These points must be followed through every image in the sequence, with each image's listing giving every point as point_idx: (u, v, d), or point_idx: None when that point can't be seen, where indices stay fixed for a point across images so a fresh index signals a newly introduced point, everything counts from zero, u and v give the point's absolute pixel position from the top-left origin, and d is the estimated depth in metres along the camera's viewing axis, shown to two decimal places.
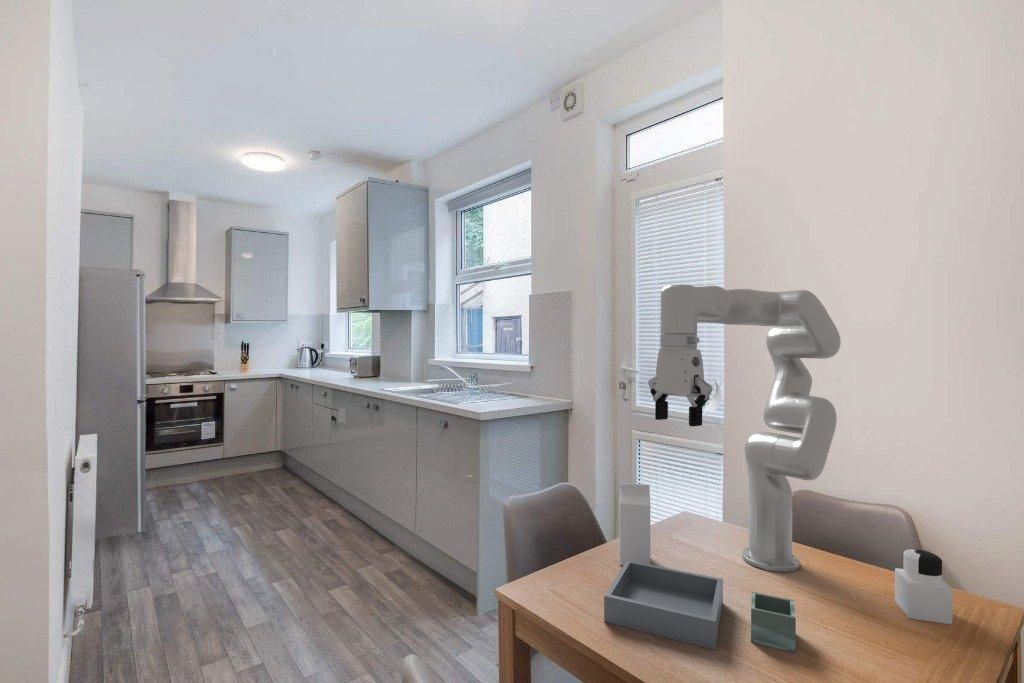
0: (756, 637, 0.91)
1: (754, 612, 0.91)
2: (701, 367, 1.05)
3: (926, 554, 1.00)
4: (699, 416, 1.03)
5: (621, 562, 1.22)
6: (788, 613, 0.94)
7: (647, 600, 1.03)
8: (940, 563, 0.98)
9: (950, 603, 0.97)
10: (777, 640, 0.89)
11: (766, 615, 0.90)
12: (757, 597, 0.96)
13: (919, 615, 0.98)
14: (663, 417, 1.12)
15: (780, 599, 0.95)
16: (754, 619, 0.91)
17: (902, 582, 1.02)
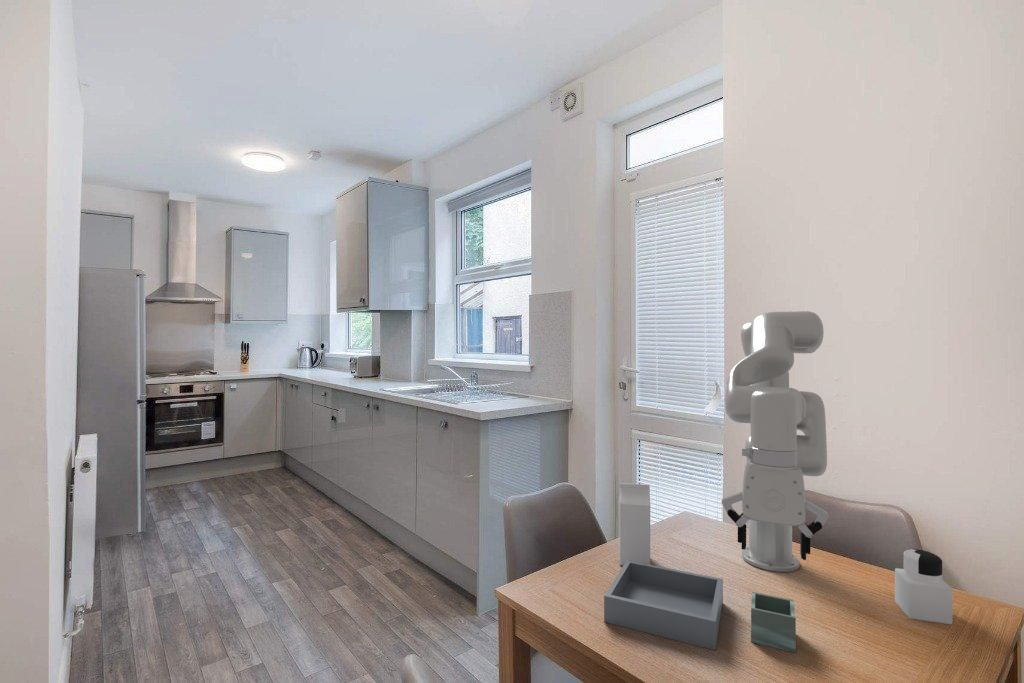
0: (756, 637, 0.91)
1: (754, 612, 0.91)
2: (743, 484, 0.93)
3: (926, 554, 1.00)
4: None
5: (621, 562, 1.22)
6: (788, 613, 0.94)
7: (647, 600, 1.03)
8: (940, 563, 0.98)
9: (950, 603, 0.97)
10: (777, 640, 0.89)
11: (766, 615, 0.90)
12: (757, 597, 0.96)
13: (919, 615, 0.98)
14: None
15: (780, 599, 0.95)
16: (754, 619, 0.91)
17: (902, 582, 1.02)
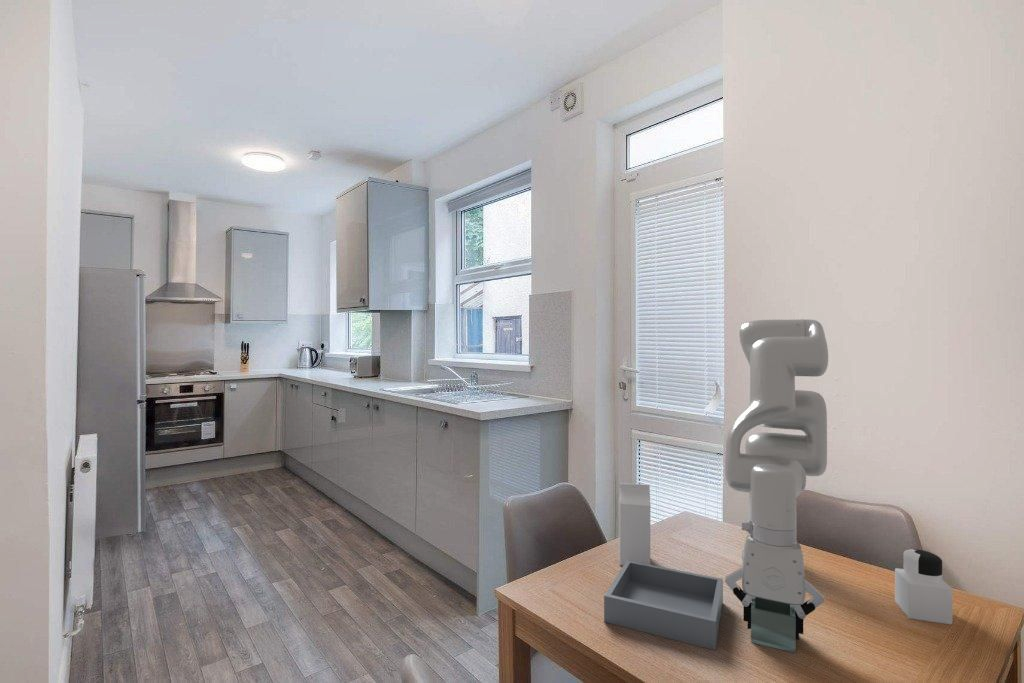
0: (756, 637, 0.91)
1: (754, 612, 0.91)
2: (743, 559, 0.93)
3: (926, 554, 1.00)
4: None
5: (621, 562, 1.22)
6: (788, 613, 0.94)
7: (647, 600, 1.03)
8: (940, 563, 0.98)
9: (950, 603, 0.97)
10: (777, 640, 0.89)
11: (766, 615, 0.90)
12: None
13: (919, 615, 0.98)
14: None
15: None
16: (754, 619, 0.91)
17: (902, 582, 1.02)
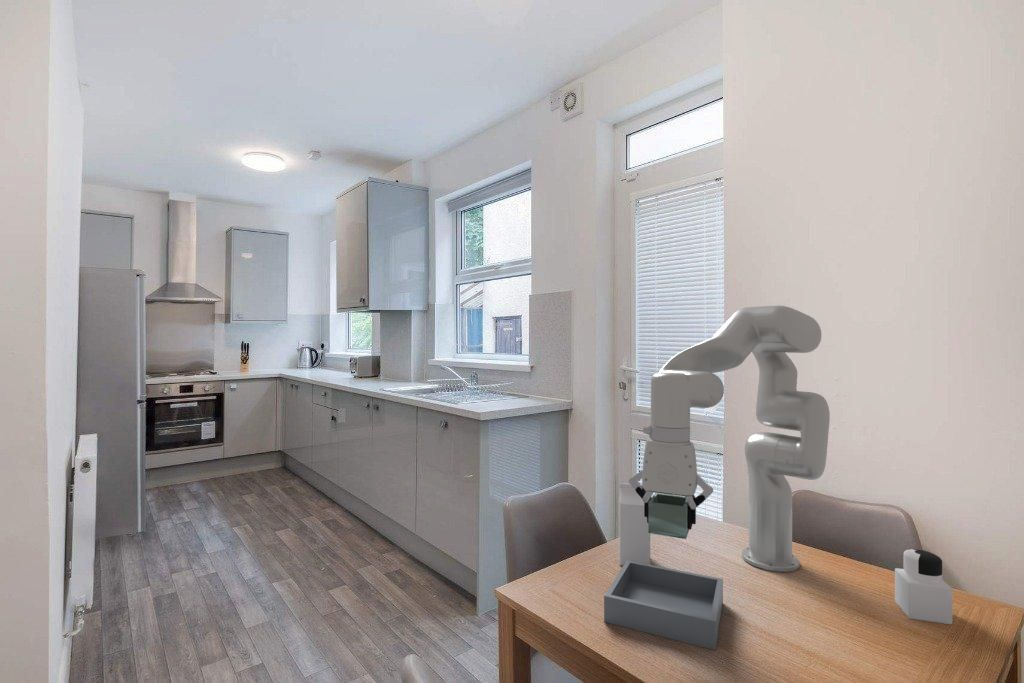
0: (653, 528, 0.99)
1: (651, 505, 0.99)
2: None
3: (926, 554, 1.00)
4: None
5: (621, 562, 1.22)
6: None
7: (647, 600, 1.03)
8: (940, 563, 0.98)
9: (950, 603, 0.97)
10: (670, 529, 0.97)
11: (661, 507, 0.98)
12: (659, 497, 1.04)
13: (919, 615, 0.98)
14: None
15: (678, 497, 1.03)
16: (651, 511, 0.99)
17: (902, 582, 1.02)
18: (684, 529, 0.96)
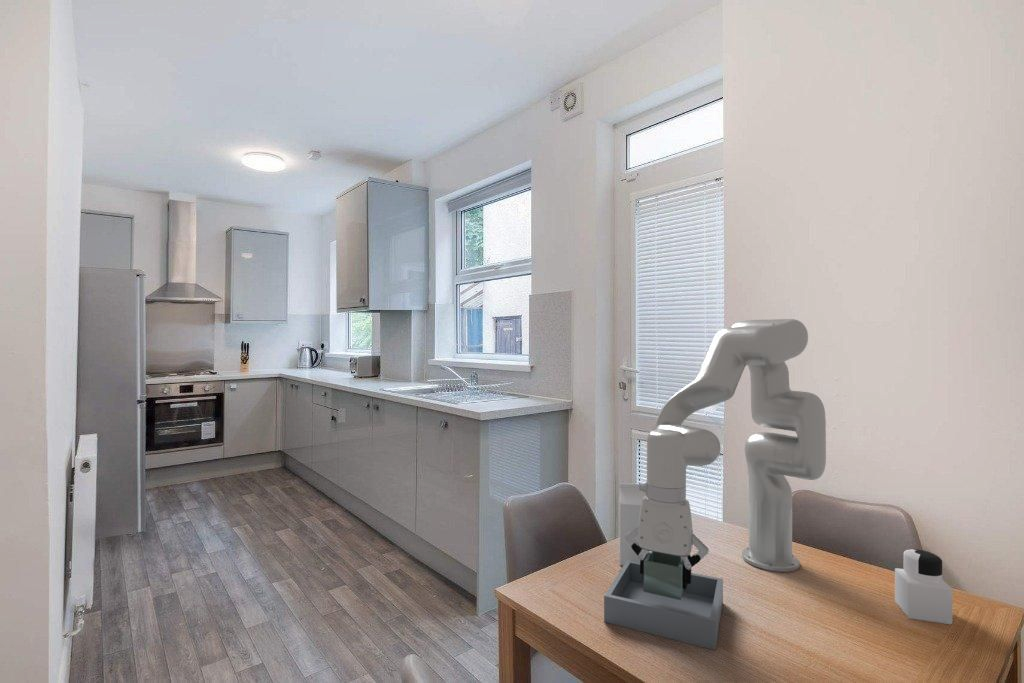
0: (648, 587, 0.99)
1: (646, 564, 0.99)
2: (639, 516, 1.02)
3: (926, 554, 1.00)
4: None
5: (621, 562, 1.22)
6: None
7: (647, 600, 1.03)
8: (940, 563, 0.98)
9: (950, 603, 0.97)
10: (665, 589, 0.97)
11: (656, 566, 0.98)
12: (655, 553, 1.05)
13: (919, 615, 0.98)
14: None
15: None
16: (646, 570, 0.99)
17: (902, 582, 1.02)
18: (679, 590, 0.96)
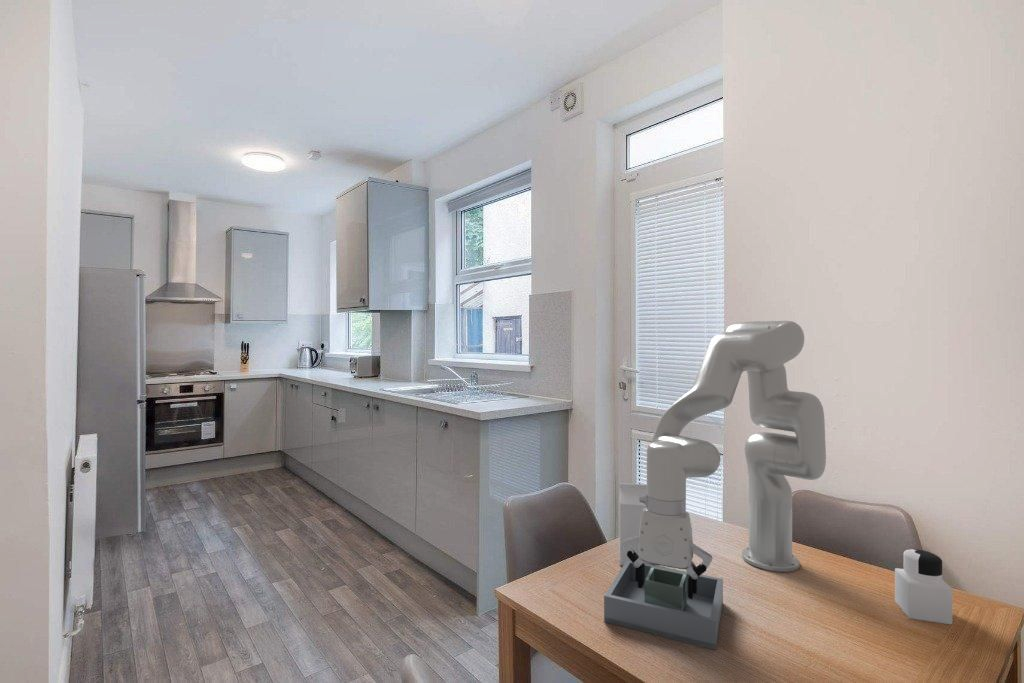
0: None
1: (647, 584, 0.99)
2: None
3: (926, 554, 1.00)
4: None
5: (621, 562, 1.22)
6: None
7: None
8: (940, 563, 0.98)
9: (950, 603, 0.97)
10: None
11: (657, 586, 0.98)
12: (655, 571, 1.05)
13: (919, 615, 0.98)
14: None
15: (675, 573, 1.03)
16: (647, 590, 0.99)
17: (902, 582, 1.02)
18: (680, 610, 0.96)
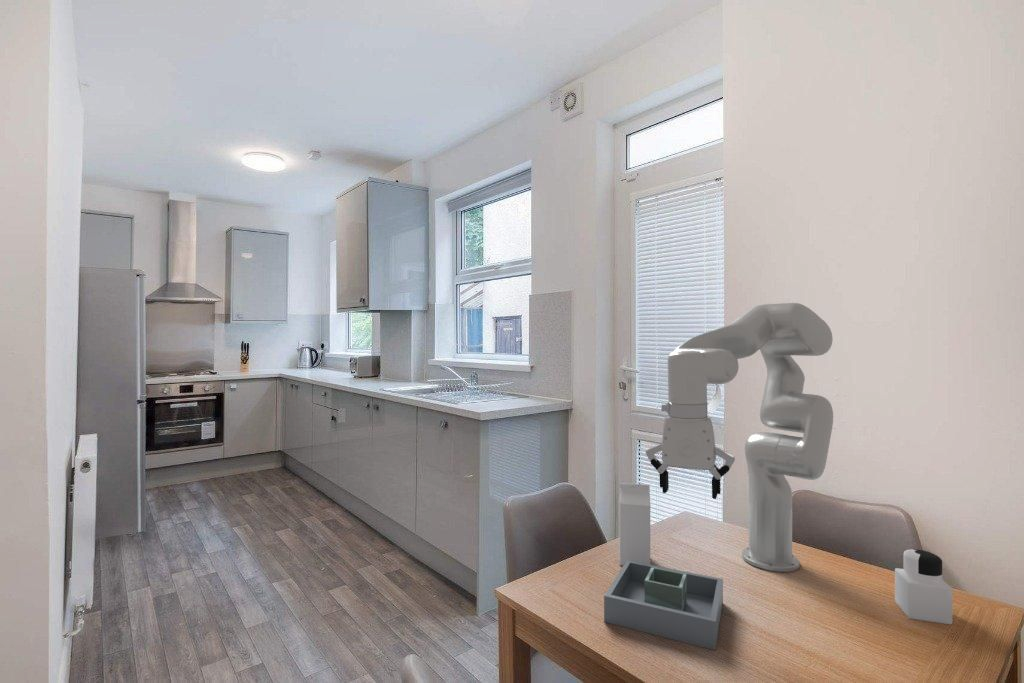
0: None
1: (647, 584, 0.99)
2: None
3: (926, 554, 1.00)
4: (660, 481, 1.06)
5: (621, 562, 1.22)
6: None
7: None
8: (940, 563, 0.98)
9: (950, 603, 0.97)
10: None
11: (657, 586, 0.98)
12: (655, 571, 1.05)
13: (919, 615, 0.98)
14: None
15: (675, 573, 1.03)
16: (647, 590, 0.99)
17: (902, 582, 1.02)
18: (680, 610, 0.96)
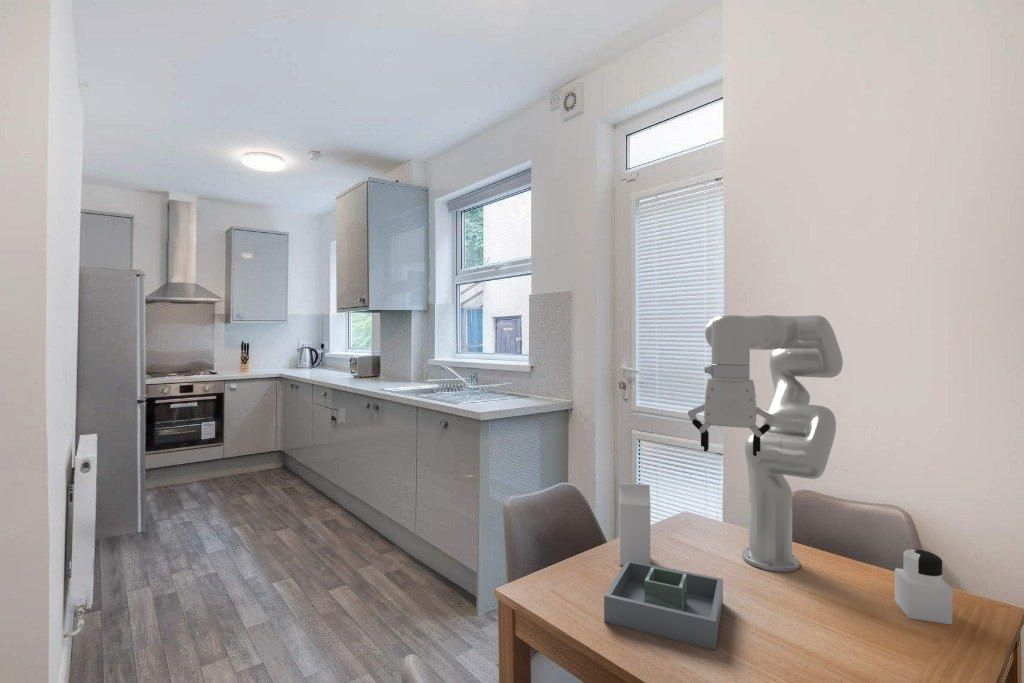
0: None
1: (647, 584, 0.99)
2: (705, 396, 1.09)
3: (926, 554, 1.00)
4: (701, 440, 1.11)
5: (621, 562, 1.22)
6: None
7: None
8: (940, 563, 0.98)
9: (950, 603, 0.97)
10: None
11: (657, 586, 0.98)
12: (655, 571, 1.05)
13: (919, 615, 0.98)
14: None
15: (675, 573, 1.03)
16: (647, 590, 0.99)
17: (902, 582, 1.02)
18: (680, 610, 0.96)
